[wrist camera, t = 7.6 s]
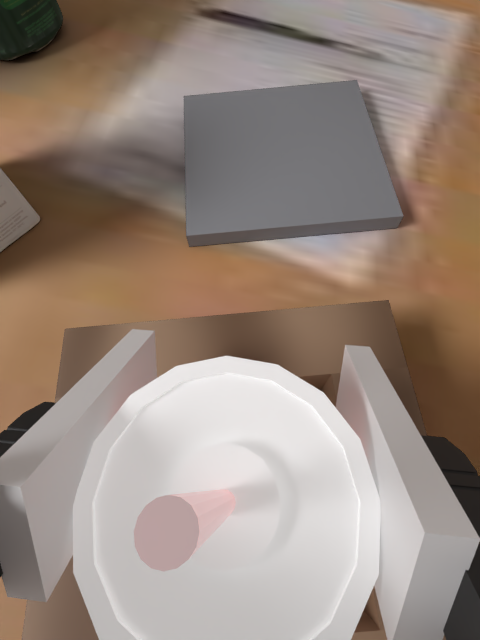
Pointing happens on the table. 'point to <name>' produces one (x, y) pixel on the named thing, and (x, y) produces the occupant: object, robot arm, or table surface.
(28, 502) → the robot arm
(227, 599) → the beverage cup
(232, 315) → the walnut holder
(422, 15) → the table surface
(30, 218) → the supplement box
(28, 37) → the coffee jar
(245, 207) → the slate coaster
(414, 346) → the table surface
